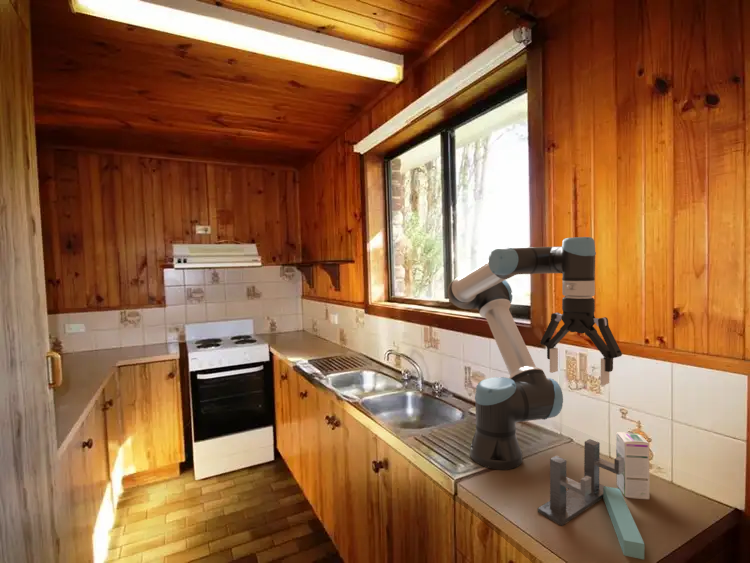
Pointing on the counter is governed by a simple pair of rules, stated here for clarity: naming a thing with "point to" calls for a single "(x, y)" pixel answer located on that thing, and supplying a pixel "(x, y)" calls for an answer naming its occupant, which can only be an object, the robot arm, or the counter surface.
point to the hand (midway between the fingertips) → (577, 377)
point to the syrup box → (633, 465)
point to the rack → (577, 485)
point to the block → (623, 523)
